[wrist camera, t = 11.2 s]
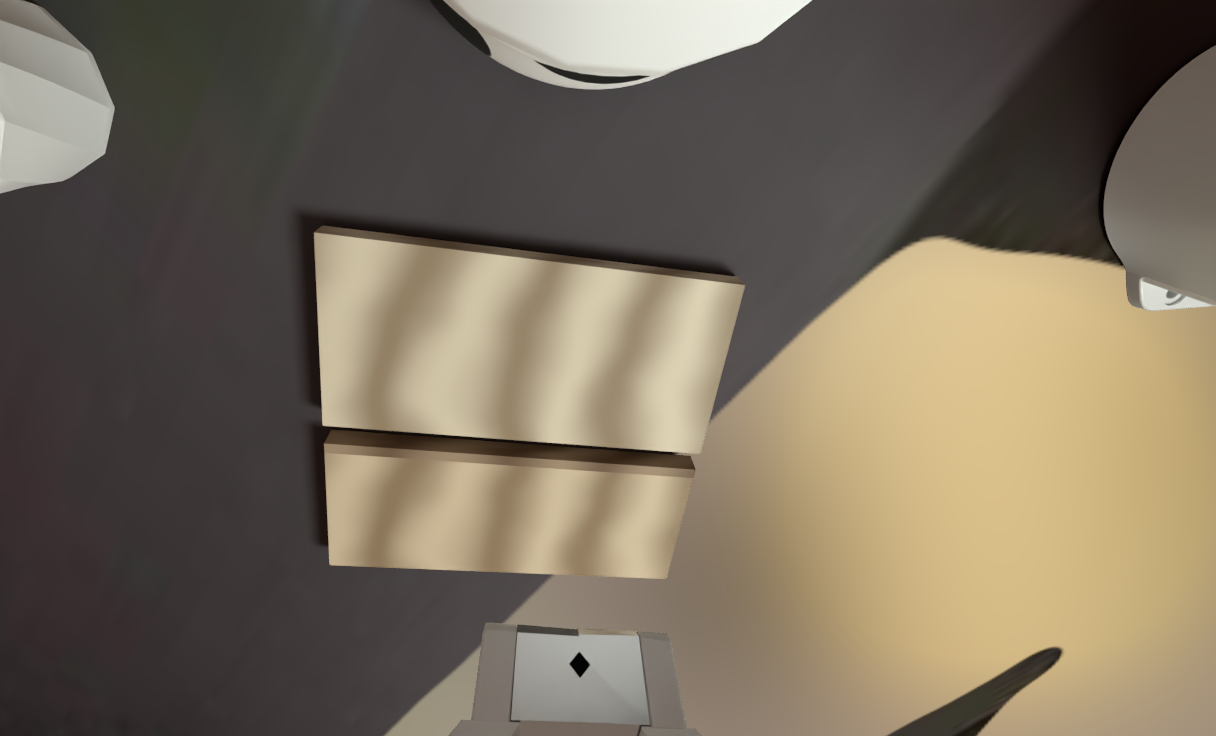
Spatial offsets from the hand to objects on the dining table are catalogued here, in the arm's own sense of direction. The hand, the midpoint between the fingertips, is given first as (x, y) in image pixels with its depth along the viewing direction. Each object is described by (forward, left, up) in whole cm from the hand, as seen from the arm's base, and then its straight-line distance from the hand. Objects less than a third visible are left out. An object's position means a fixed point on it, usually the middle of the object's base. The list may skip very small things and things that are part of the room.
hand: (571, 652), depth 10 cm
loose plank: (0, +8, -29) cm, 30 cm away
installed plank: (0, +20, -29) cm, 35 cm away
